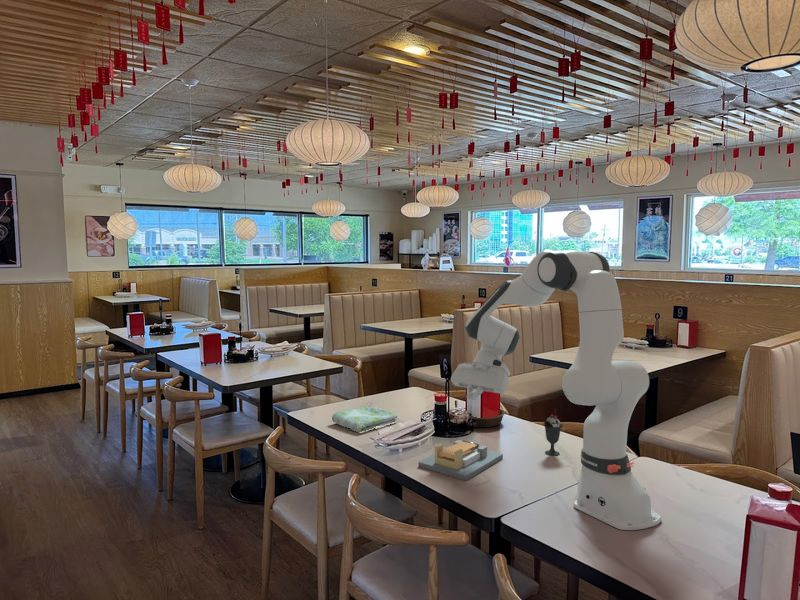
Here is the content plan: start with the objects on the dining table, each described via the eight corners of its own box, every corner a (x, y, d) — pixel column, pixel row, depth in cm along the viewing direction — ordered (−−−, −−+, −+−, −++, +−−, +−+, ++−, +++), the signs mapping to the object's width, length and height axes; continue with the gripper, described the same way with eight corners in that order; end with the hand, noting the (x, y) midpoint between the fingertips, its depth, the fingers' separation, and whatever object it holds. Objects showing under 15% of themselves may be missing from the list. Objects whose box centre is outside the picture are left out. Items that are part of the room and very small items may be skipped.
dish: (449, 424, 218) (449, 412, 218) (480, 413, 234) (480, 401, 234) (485, 434, 206) (485, 421, 206) (515, 421, 222) (516, 409, 222)
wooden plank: (464, 439, 184) (439, 450, 173) (479, 443, 180) (454, 455, 169) (463, 444, 184) (439, 455, 173) (479, 448, 181) (454, 460, 169)
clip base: (457, 446, 192) (457, 427, 192) (502, 458, 181) (502, 438, 180) (418, 466, 175) (418, 445, 174) (465, 480, 163) (465, 458, 163)
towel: (399, 423, 221) (399, 411, 220) (359, 436, 206) (359, 422, 206) (370, 414, 234) (370, 402, 233) (330, 425, 219) (330, 413, 219)
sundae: (560, 450, 189) (561, 408, 187) (564, 457, 182) (564, 413, 181) (540, 449, 189) (541, 407, 188) (544, 456, 182) (544, 413, 181)
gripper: (456, 356, 192) (441, 388, 186) (508, 363, 180) (494, 398, 173) (463, 366, 196) (448, 398, 190) (514, 374, 184) (500, 409, 177)
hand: (470, 398), depth 181 cm, fingers closed
